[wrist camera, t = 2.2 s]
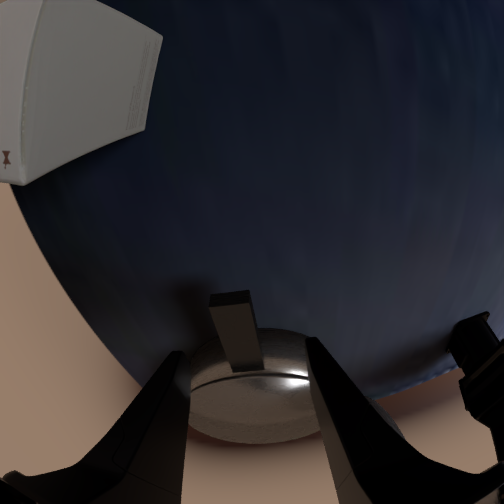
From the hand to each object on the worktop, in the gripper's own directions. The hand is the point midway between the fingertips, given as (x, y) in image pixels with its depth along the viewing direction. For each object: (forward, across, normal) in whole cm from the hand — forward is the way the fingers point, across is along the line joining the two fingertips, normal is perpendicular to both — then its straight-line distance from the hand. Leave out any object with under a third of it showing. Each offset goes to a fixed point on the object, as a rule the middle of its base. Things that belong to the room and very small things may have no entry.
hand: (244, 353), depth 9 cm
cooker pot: (+13, +2, +17) cm, 22 cm away
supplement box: (+13, +8, -12) cm, 20 cm away
